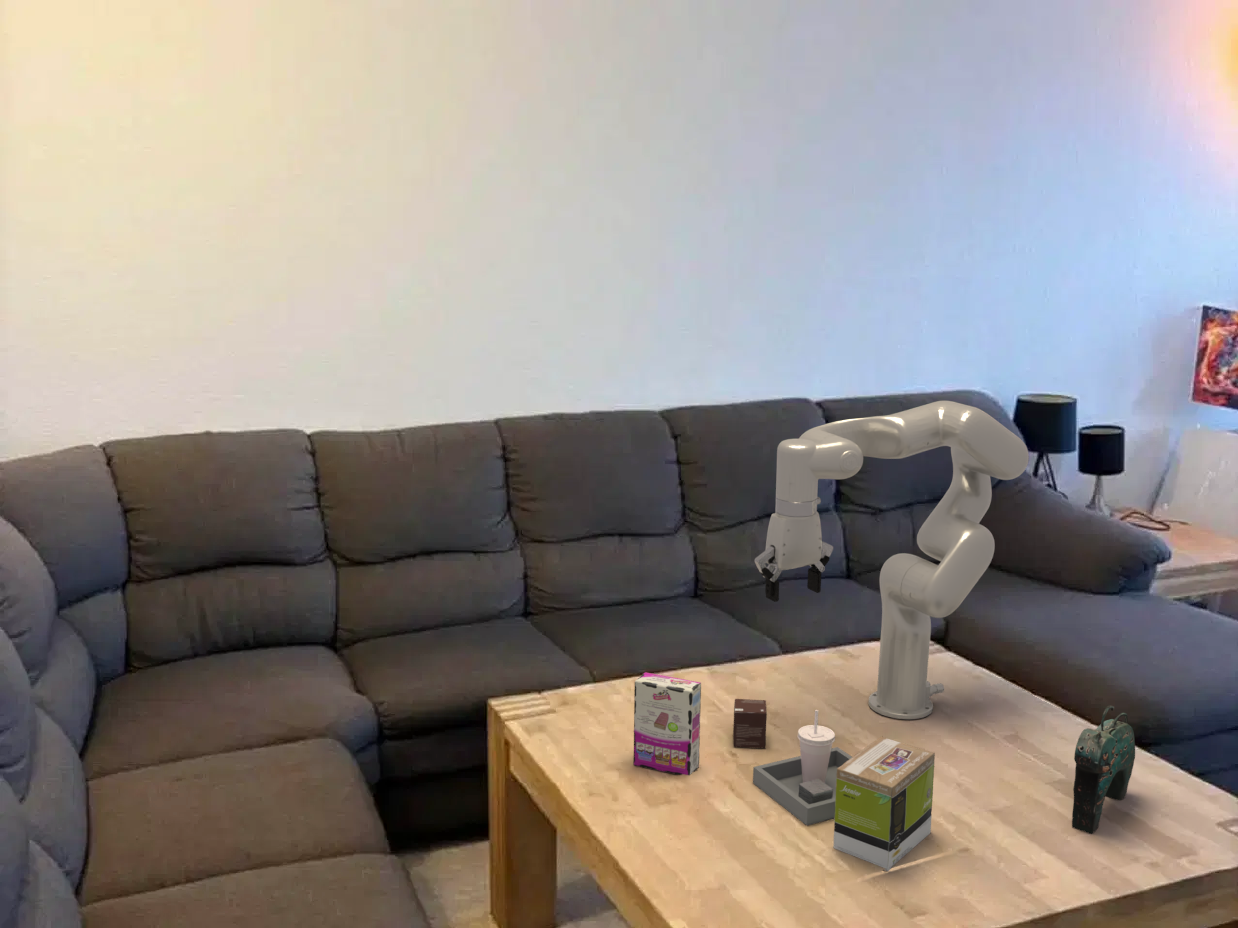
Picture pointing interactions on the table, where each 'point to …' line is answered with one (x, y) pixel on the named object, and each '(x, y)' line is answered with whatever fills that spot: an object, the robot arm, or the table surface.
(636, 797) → the table surface
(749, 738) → the box
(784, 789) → the tray
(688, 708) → the candy bar box
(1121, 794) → the green animal figurine
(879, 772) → the tea box
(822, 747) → the smoothie
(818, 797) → the metal block
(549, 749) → the table surface
